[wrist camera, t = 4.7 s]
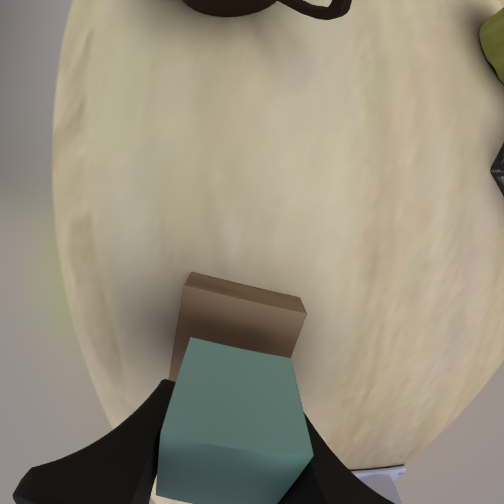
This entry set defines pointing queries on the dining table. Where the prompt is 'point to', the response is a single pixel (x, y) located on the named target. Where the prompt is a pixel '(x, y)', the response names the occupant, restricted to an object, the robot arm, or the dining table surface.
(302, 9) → the coffee mug
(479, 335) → the dining table surface
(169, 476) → the teal brick
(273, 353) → the base brick
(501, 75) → the plant pot
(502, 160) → the small box
